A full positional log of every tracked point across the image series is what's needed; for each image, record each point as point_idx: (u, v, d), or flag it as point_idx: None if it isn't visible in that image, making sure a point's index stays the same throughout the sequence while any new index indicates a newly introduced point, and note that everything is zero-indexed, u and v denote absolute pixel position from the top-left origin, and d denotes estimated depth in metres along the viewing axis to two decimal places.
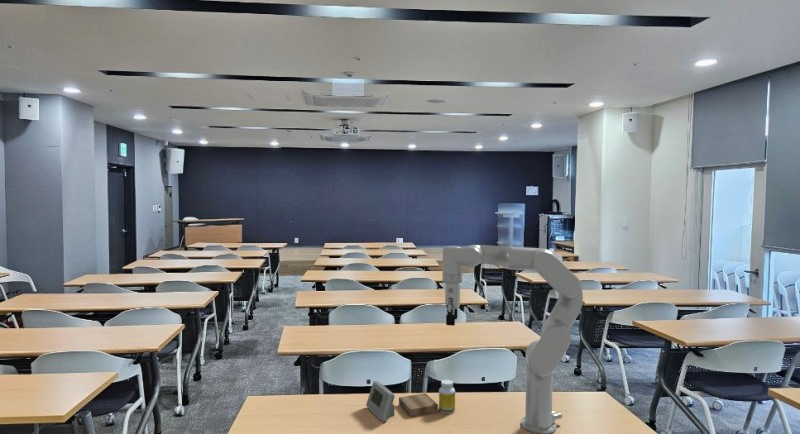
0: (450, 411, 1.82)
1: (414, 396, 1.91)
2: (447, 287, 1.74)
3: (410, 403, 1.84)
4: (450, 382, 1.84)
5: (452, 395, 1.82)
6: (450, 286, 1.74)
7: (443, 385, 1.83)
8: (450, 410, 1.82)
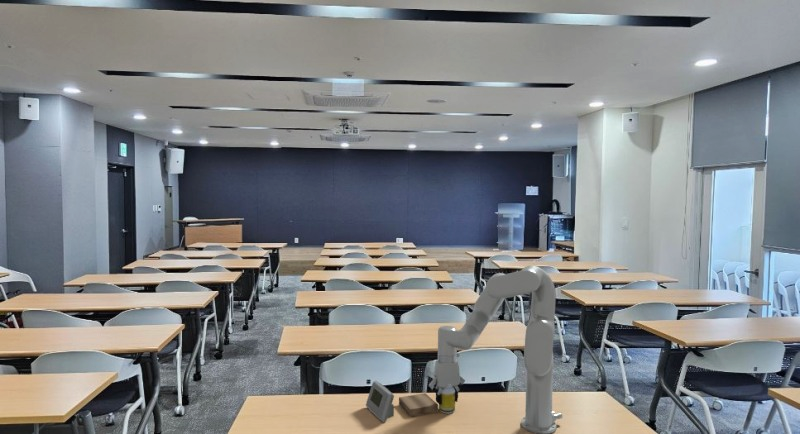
0: (450, 411, 1.82)
1: (414, 396, 1.91)
2: (458, 364, 1.85)
3: (410, 403, 1.84)
4: None
5: (452, 395, 1.82)
6: None
7: None
8: (450, 410, 1.82)
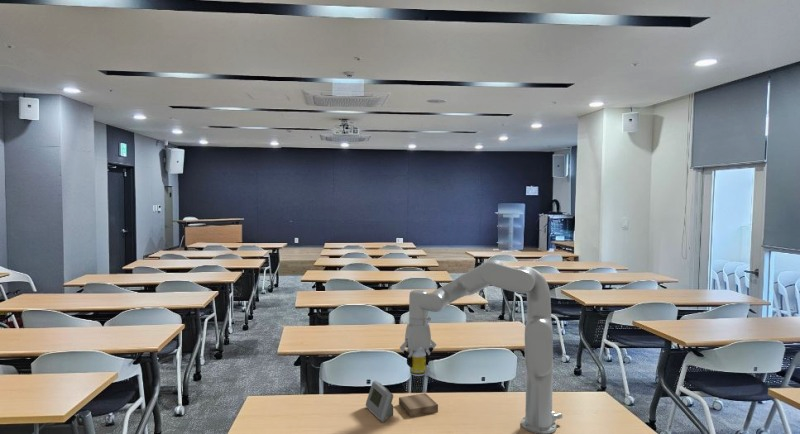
0: (420, 373, 1.84)
1: (414, 396, 1.91)
2: (429, 328, 1.86)
3: (410, 403, 1.84)
4: None
5: (423, 358, 1.84)
6: None
7: None
8: (420, 373, 1.83)
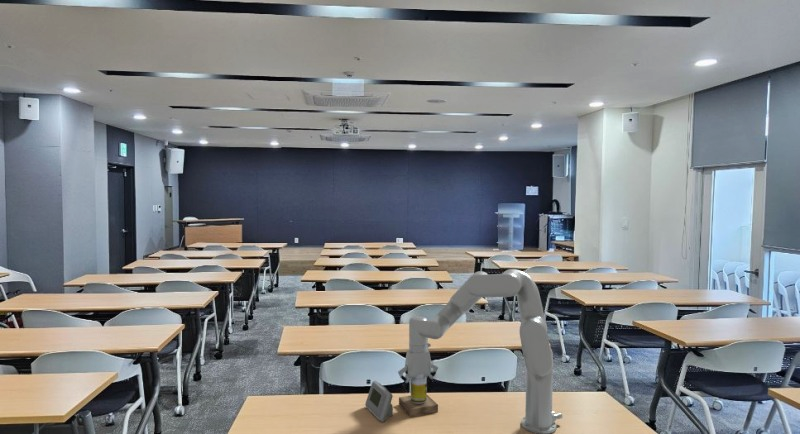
0: (421, 401, 1.84)
1: None
2: (429, 354, 1.87)
3: (410, 403, 1.84)
4: None
5: (423, 385, 1.84)
6: None
7: None
8: (421, 400, 1.84)
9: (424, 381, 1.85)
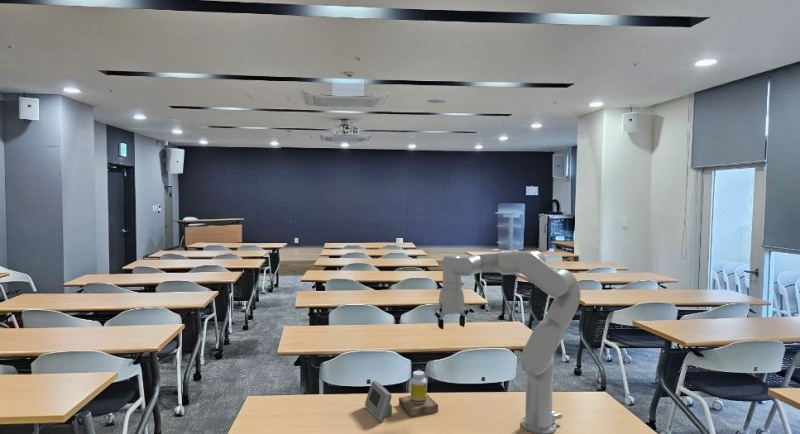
0: (421, 401, 1.84)
1: None
2: None
3: (410, 403, 1.84)
4: (422, 373, 1.86)
5: (423, 385, 1.84)
6: None
7: (414, 376, 1.85)
8: (421, 400, 1.84)
9: (424, 381, 1.85)
